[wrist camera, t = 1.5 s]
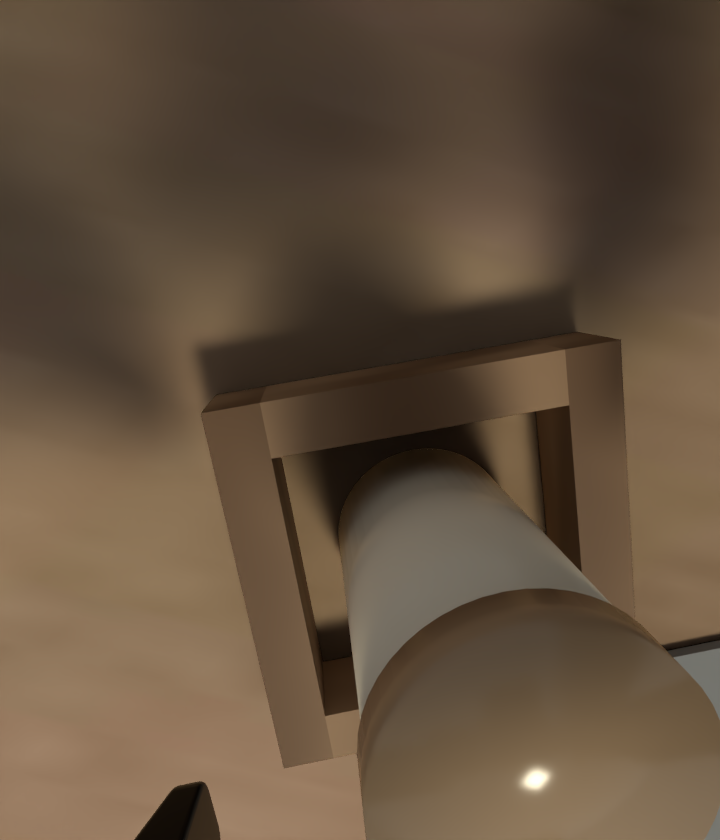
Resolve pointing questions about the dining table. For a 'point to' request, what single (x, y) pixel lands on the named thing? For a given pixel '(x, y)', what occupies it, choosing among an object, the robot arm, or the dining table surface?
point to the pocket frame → (394, 416)
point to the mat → (704, 687)
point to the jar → (507, 676)
